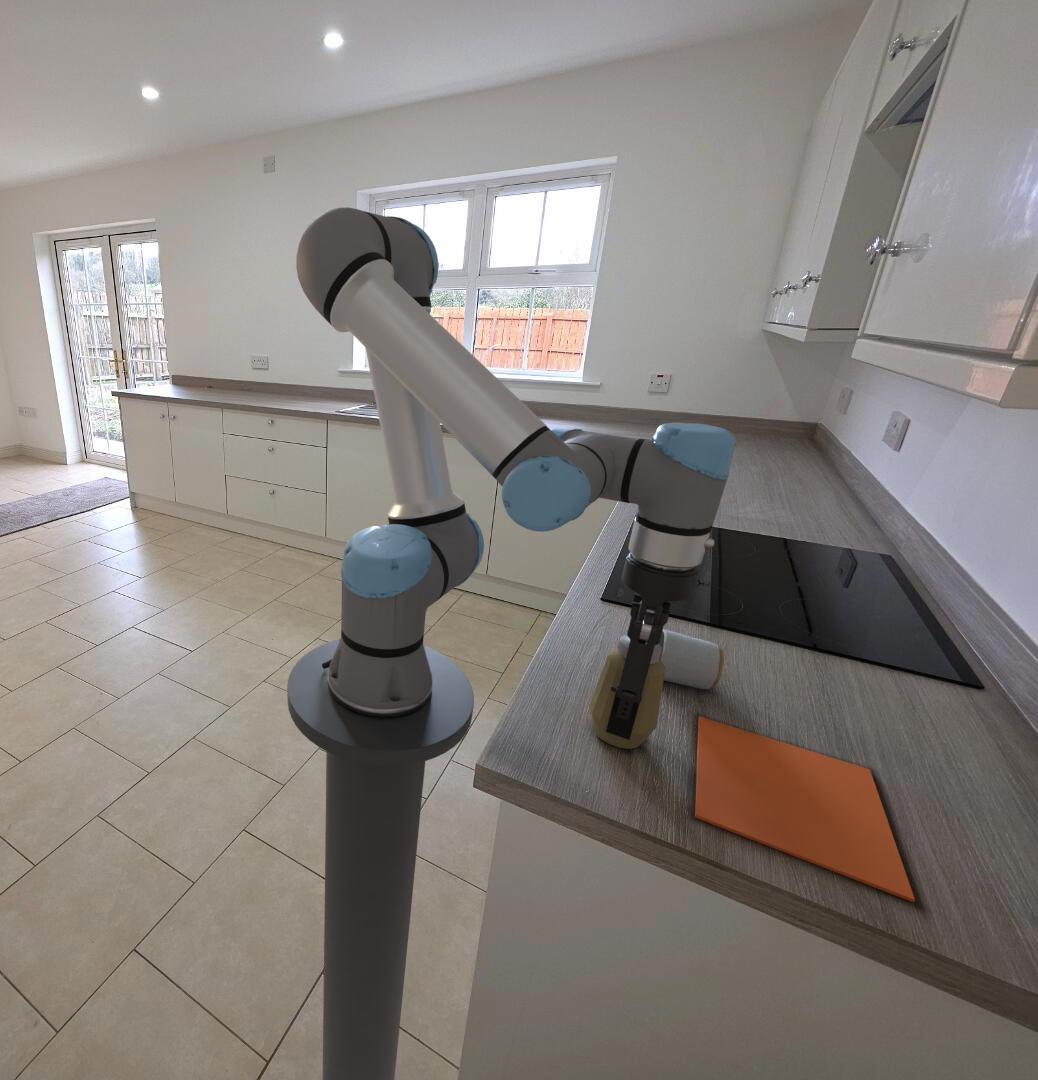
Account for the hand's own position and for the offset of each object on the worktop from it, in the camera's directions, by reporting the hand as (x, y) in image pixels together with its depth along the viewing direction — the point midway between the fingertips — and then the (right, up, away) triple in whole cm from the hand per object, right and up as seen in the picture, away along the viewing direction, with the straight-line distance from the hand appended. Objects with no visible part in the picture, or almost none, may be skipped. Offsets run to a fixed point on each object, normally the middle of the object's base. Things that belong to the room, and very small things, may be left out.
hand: (622, 715), depth 74 cm
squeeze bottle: (0, -3, +1) cm, 3 cm away
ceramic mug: (+16, +2, +14) cm, 21 cm away
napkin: (+15, -7, -8) cm, 18 cm away
